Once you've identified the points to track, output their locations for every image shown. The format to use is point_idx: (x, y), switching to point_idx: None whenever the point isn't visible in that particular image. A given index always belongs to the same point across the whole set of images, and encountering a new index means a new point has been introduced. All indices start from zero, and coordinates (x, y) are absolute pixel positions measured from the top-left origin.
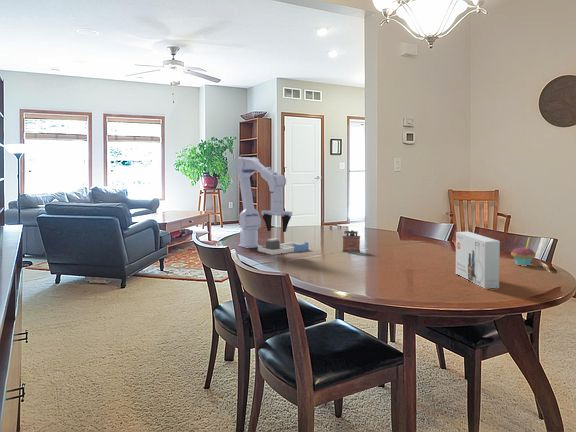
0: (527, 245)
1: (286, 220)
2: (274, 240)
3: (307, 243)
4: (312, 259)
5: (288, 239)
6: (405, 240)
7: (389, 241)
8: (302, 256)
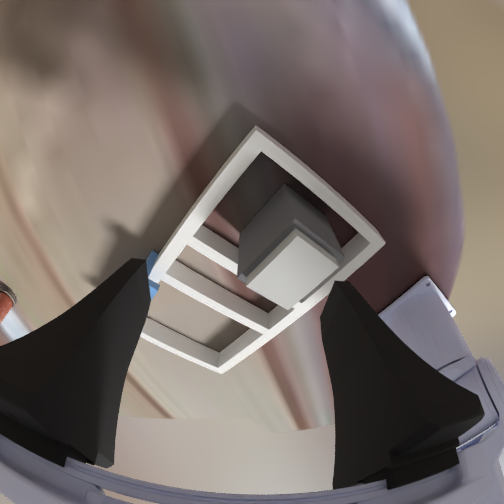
0: None
1: (12, 345)
2: (271, 256)
3: None
4: (10, 98)
5: (280, 423)
6: None
7: None
8: (66, 144)
